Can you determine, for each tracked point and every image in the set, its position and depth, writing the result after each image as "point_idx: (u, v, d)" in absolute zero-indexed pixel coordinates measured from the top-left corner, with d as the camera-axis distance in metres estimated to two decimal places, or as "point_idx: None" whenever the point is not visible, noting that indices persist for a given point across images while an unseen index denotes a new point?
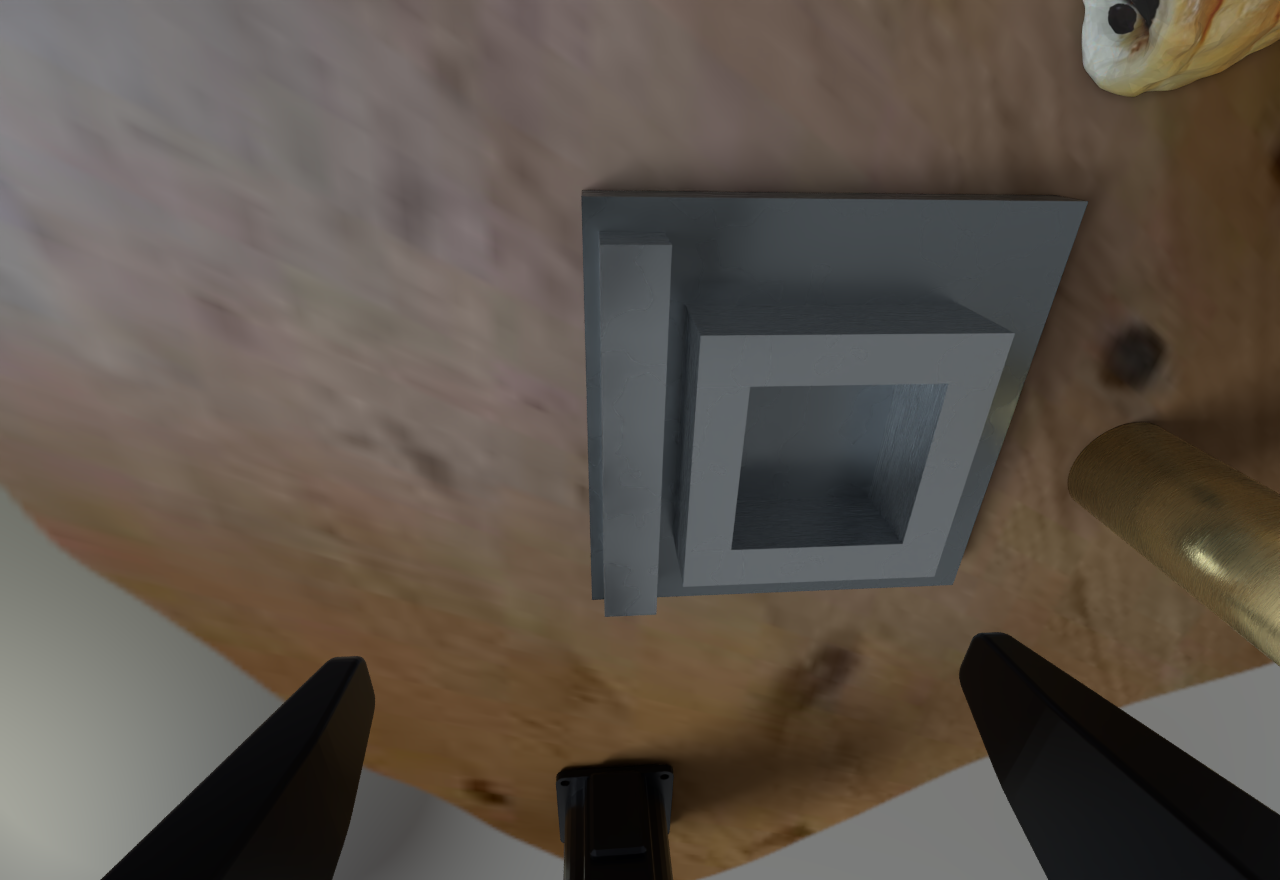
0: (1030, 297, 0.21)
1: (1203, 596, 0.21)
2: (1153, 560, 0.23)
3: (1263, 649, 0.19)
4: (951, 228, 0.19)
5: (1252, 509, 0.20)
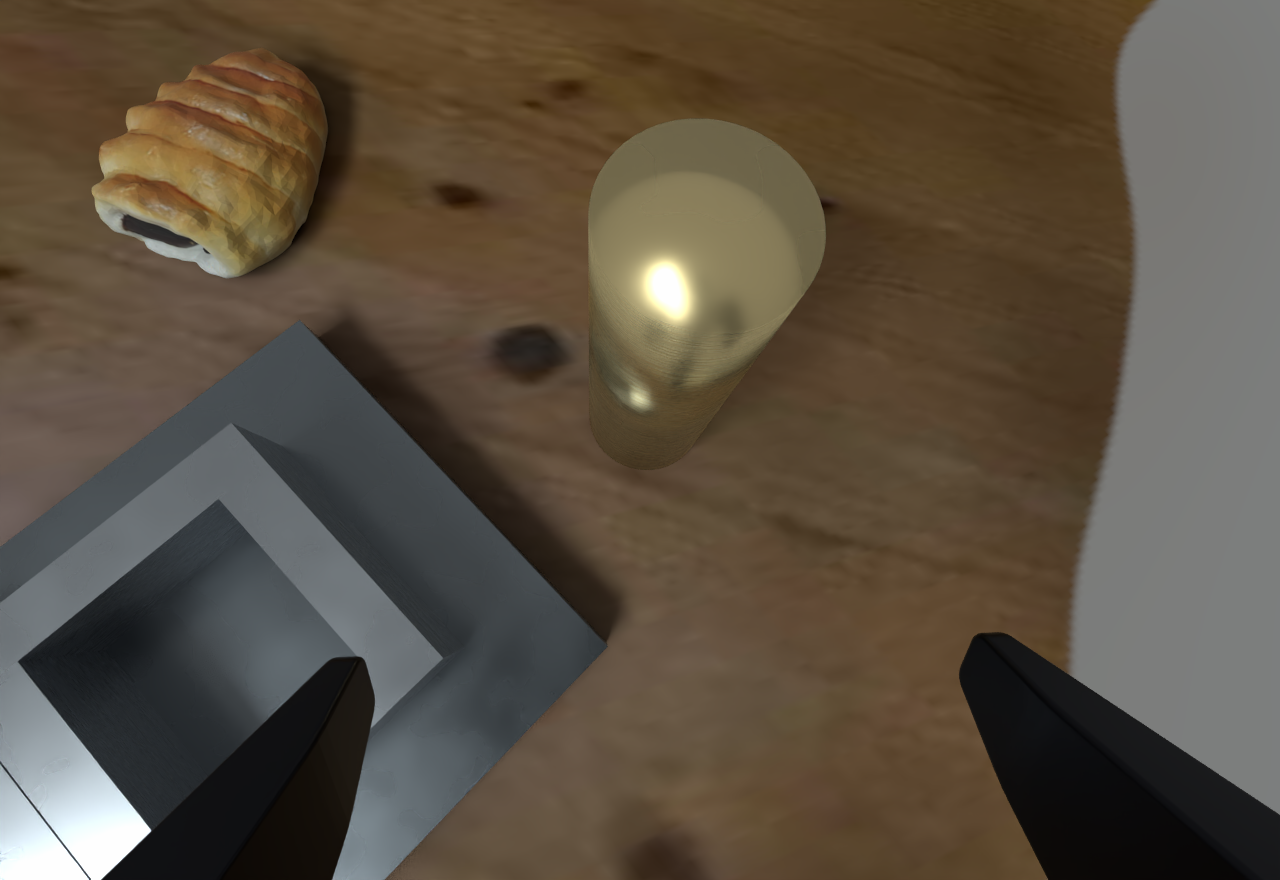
0: (335, 394, 0.21)
1: (646, 421, 0.17)
2: (648, 441, 0.19)
3: (668, 401, 0.15)
4: (211, 415, 0.21)
5: None
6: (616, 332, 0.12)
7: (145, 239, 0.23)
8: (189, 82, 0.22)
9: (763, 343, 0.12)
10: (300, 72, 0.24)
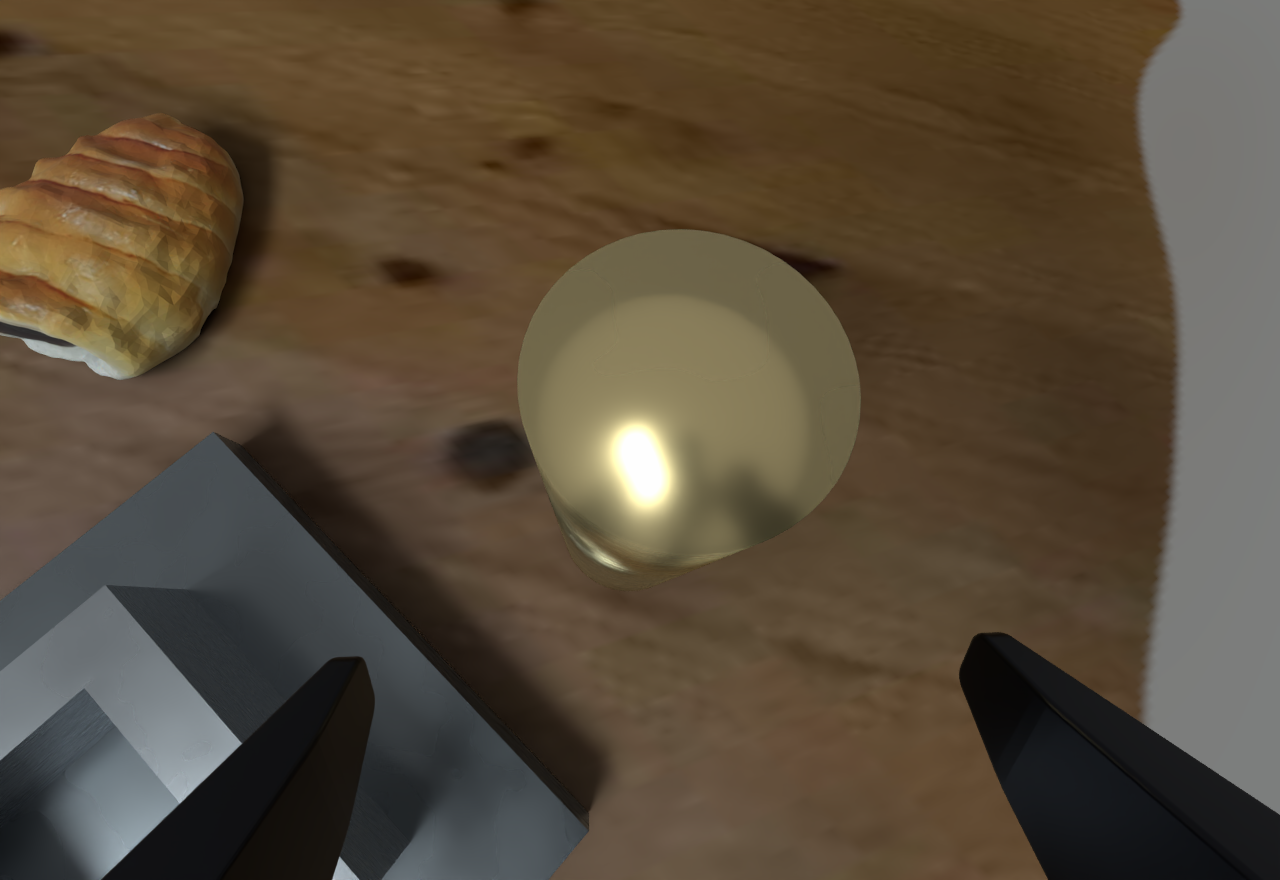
0: (254, 522, 0.18)
1: (623, 577, 0.13)
2: (629, 584, 0.15)
3: (649, 574, 0.11)
4: (102, 554, 0.17)
5: None
6: (570, 518, 0.09)
7: (24, 339, 0.20)
8: (68, 157, 0.19)
9: None
10: (205, 138, 0.21)
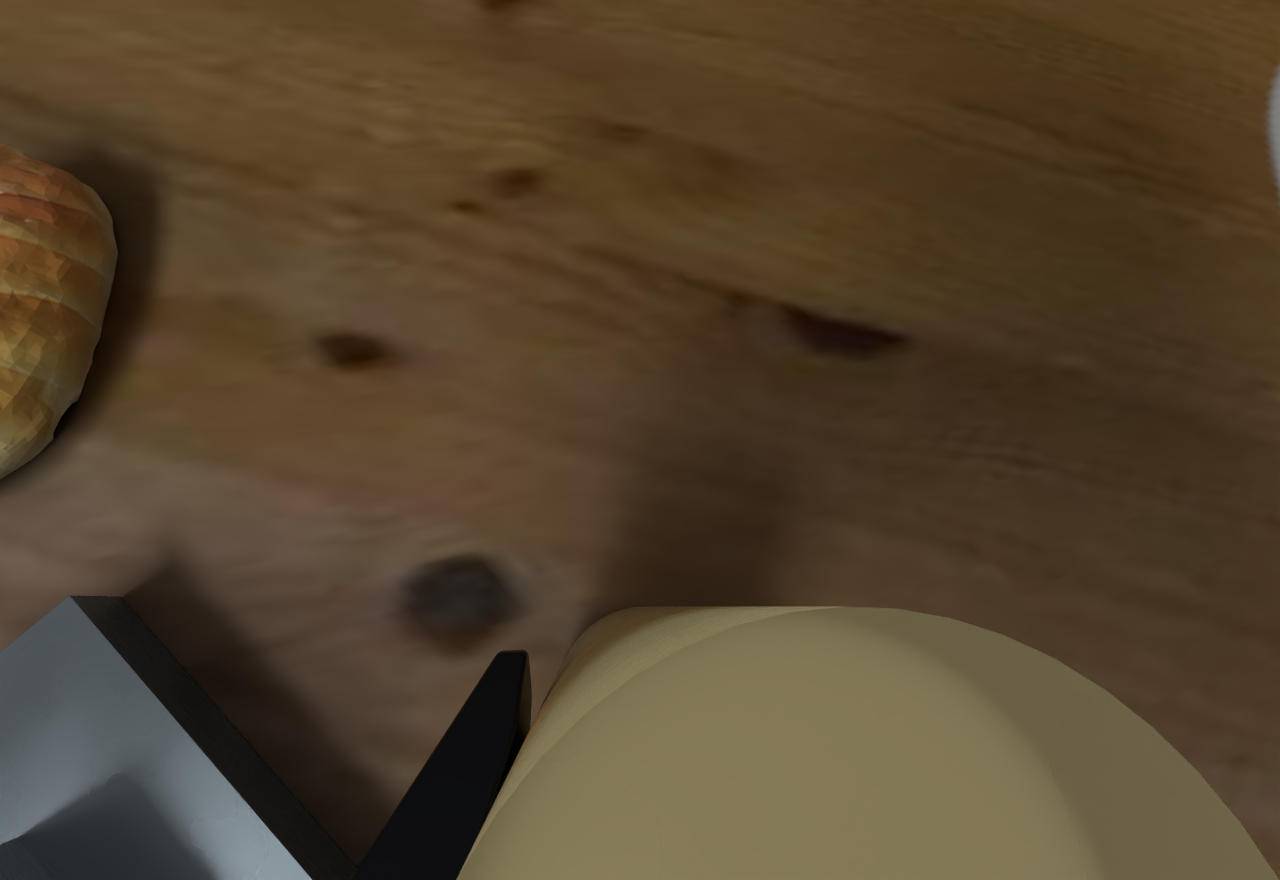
0: (120, 731, 0.13)
1: None
2: None
3: None
4: None
5: None
6: None
7: None
8: None
9: None
10: (55, 174, 0.16)
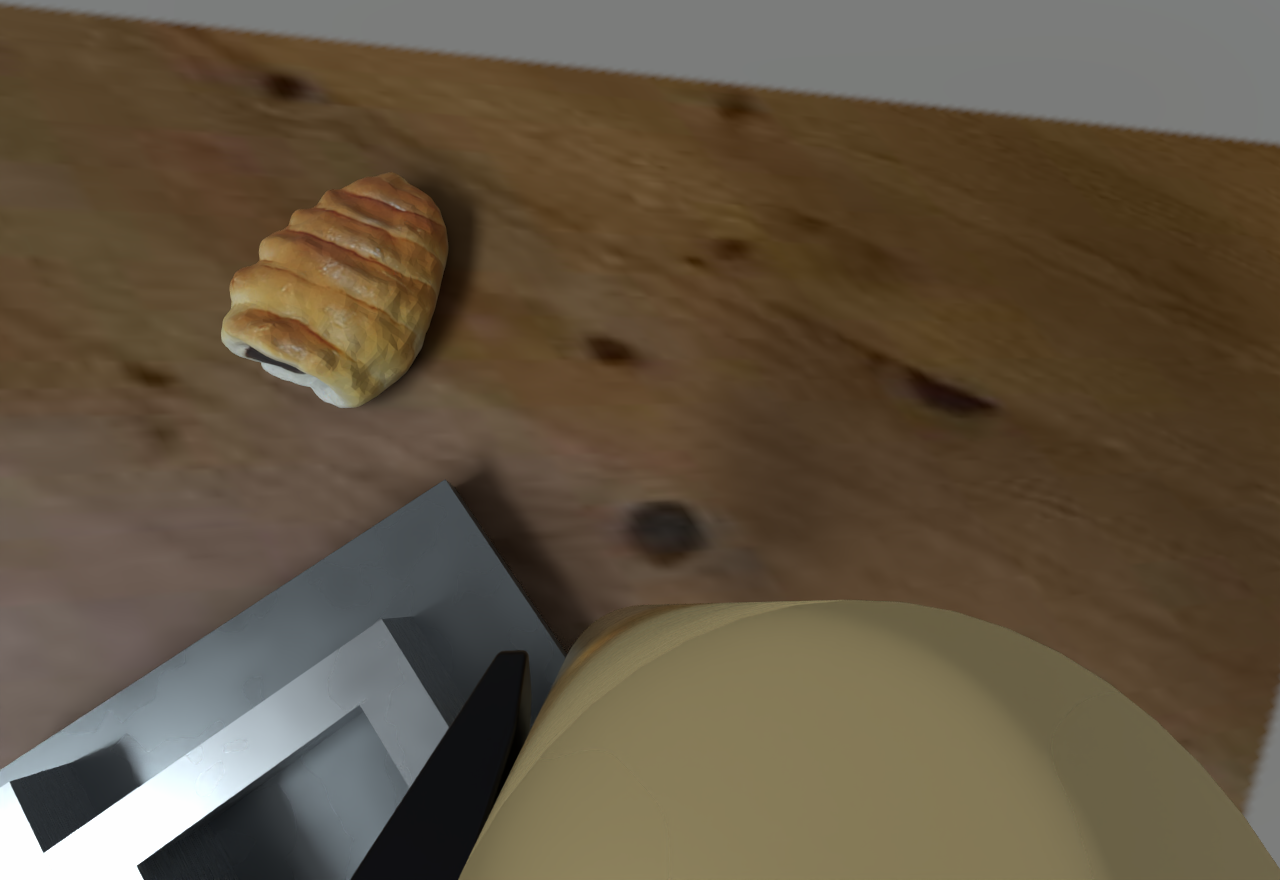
0: (472, 566, 0.20)
1: None
2: None
3: None
4: (346, 573, 0.20)
5: None
6: None
7: None
8: (324, 213, 0.22)
9: None
10: (429, 199, 0.24)
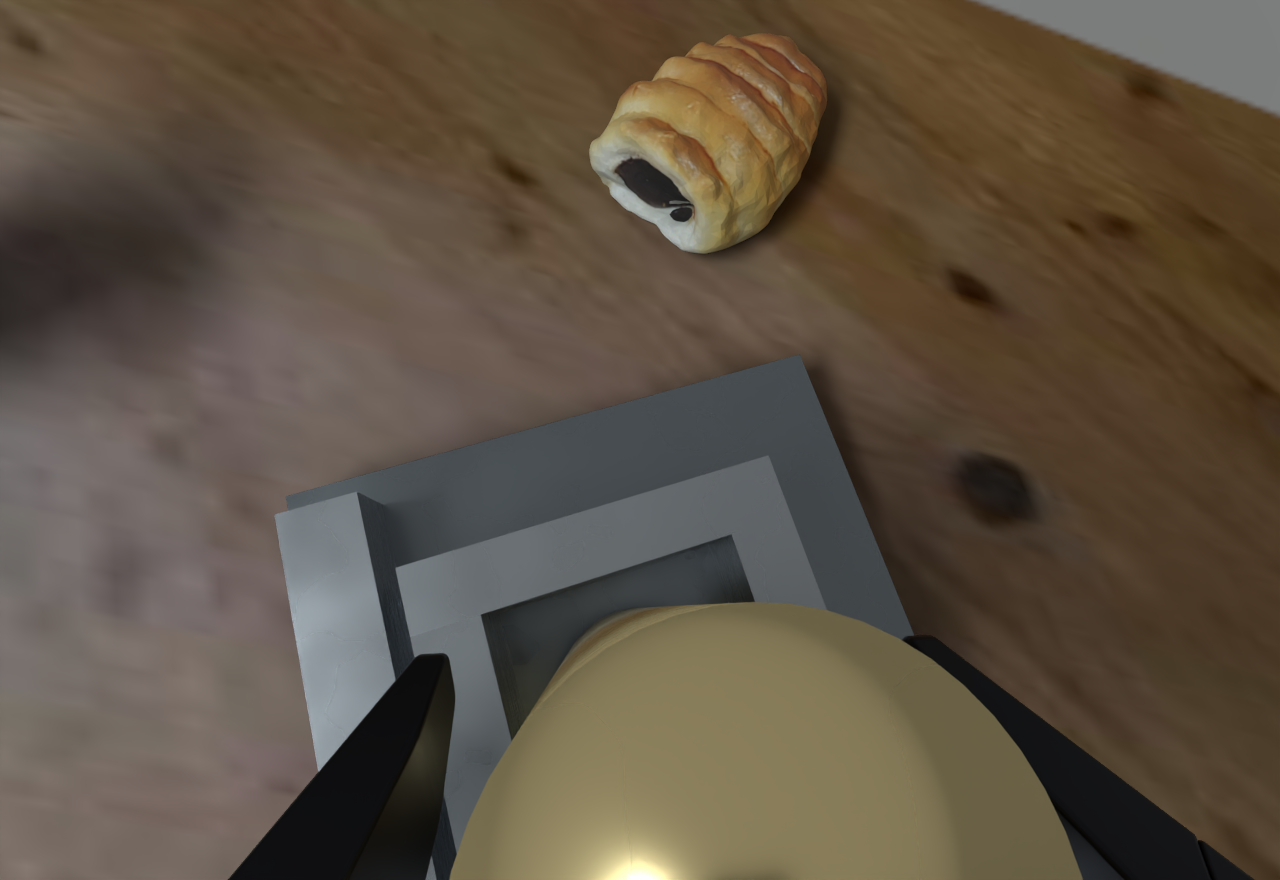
0: (810, 450, 0.19)
1: None
2: None
3: None
4: (683, 413, 0.19)
5: None
6: None
7: (617, 186, 0.22)
8: (733, 49, 0.21)
9: None
10: (821, 72, 0.23)
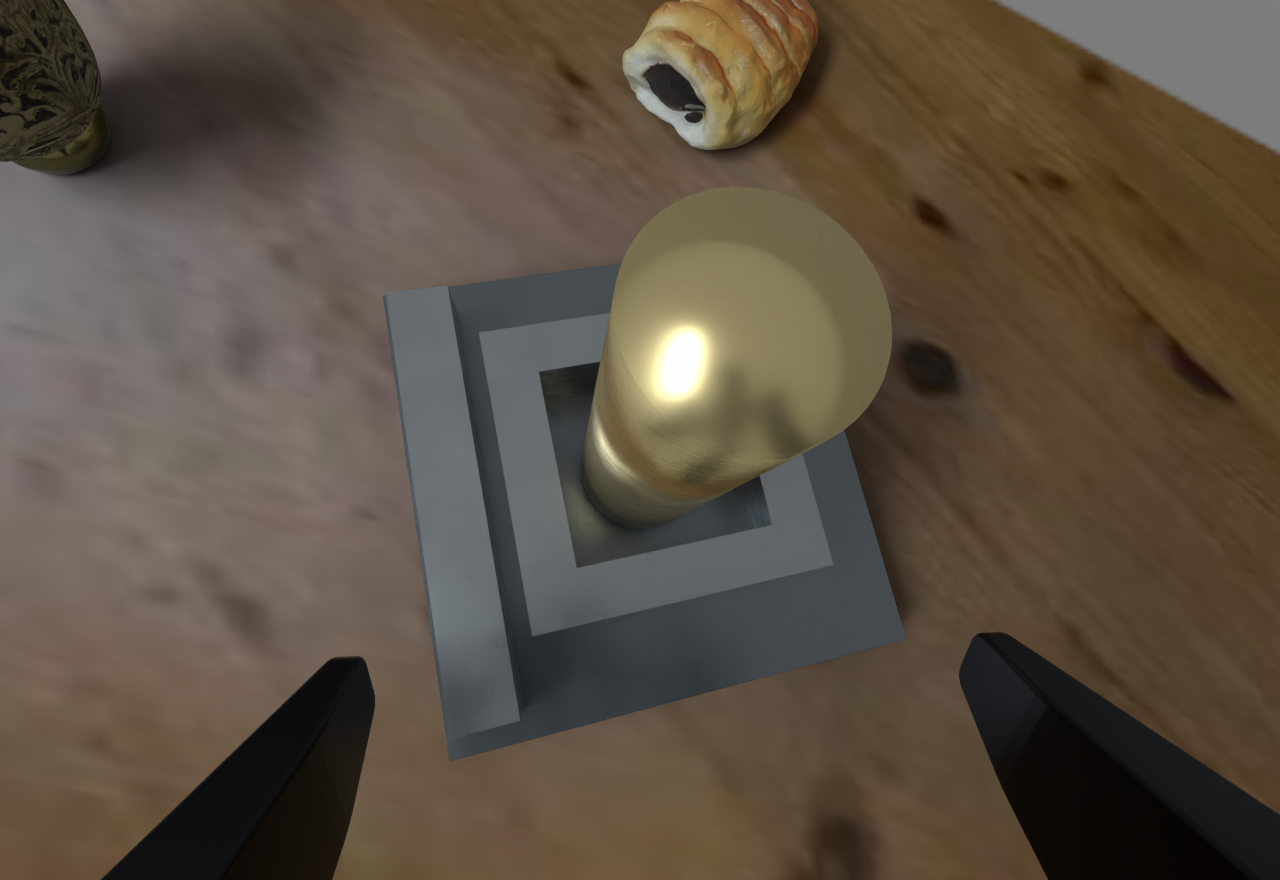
0: None
1: (650, 500, 0.15)
2: (648, 512, 0.17)
3: (681, 492, 0.13)
4: None
5: None
6: (633, 426, 0.10)
7: (643, 89, 0.27)
8: None
9: None
10: (815, 12, 0.28)
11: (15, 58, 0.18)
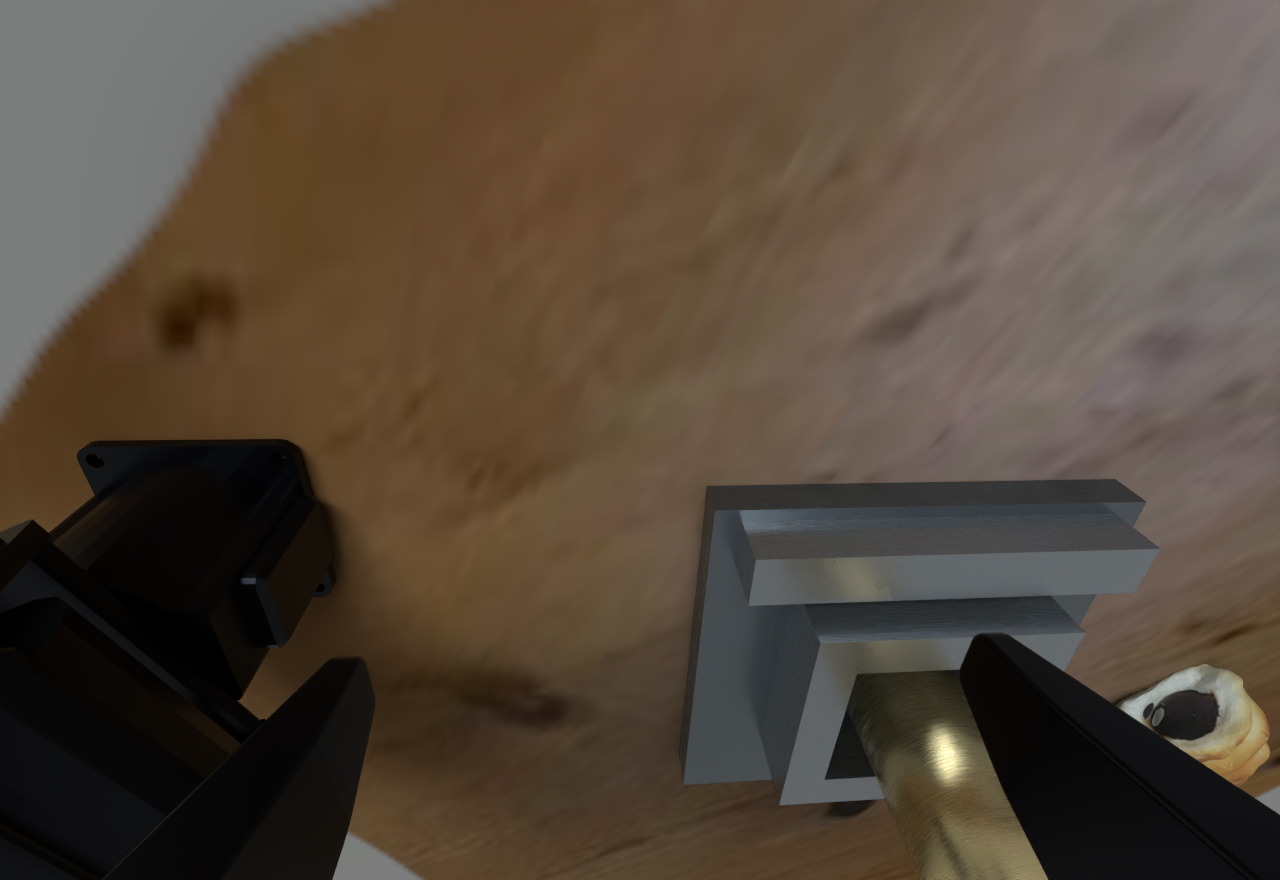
0: None
1: (926, 814, 0.19)
2: (890, 754, 0.21)
3: None
4: None
5: None
6: None
7: (1196, 679, 0.29)
8: (1244, 781, 0.30)
9: None
10: None
11: None
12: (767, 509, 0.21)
